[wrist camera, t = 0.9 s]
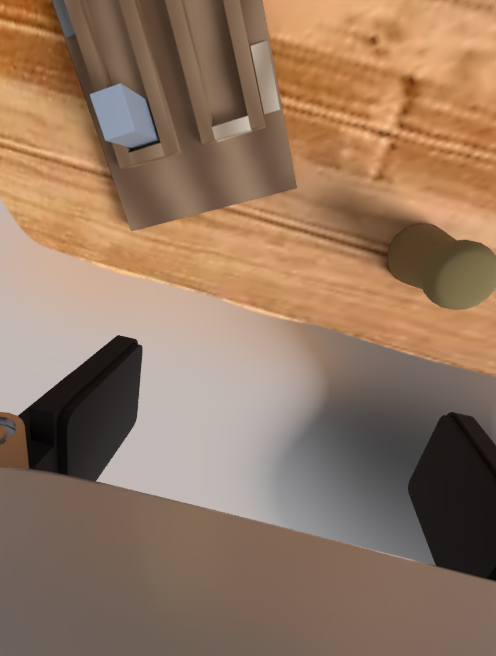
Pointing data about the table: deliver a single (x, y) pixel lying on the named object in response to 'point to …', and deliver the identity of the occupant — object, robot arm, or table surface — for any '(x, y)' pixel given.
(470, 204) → the table surface
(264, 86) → the switch board
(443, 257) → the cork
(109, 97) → the slate-blue tab
